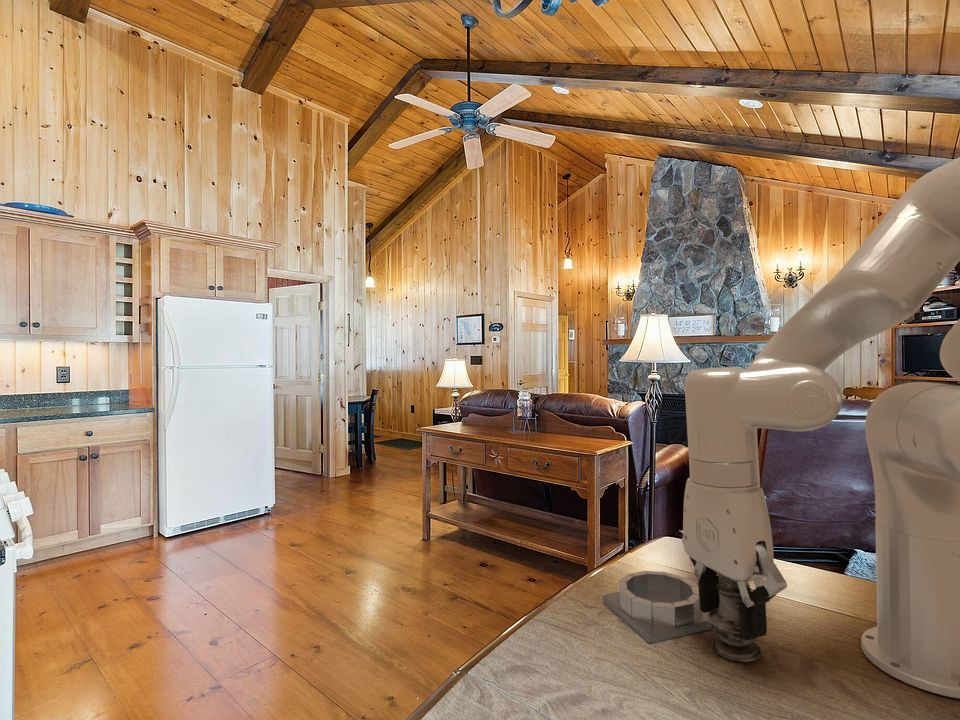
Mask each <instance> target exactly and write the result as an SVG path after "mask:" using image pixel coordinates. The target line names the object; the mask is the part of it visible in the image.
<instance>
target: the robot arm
mask: <svg viewBox="0 0 960 720" xmlns="http://www.w3.org/2000/svg"><path fill="white" fill-rule="evenodd" d="M959 262H960V156H958V157H956V158H954V159H953V160H951V161H948V162H947V163H945V164H942V165H941V166H938V167H936V168H935V169H932V170H931V171H928V172H927V173H925V174H924V175H922V176H920V178H919V179H917V180H916V181H915V182H913V183H912V184H911V186H909V187H908V188H907V189H906V191H905V192H903V194H902V195H901V196H900V197H899V198H898V200H897V201H896V202H895V203H894V204H893V206H892V207H891V208H890V209H889V211H888V212H887V213H886V214H885V215H884V217H883V218H882V219H881V220H880V222H879V223H878V224H877V226H876V227H875V228H874V229H873V230H872V232H871V233H870V234H869V235H868V236H867V238H865V240H864V241H863V242H862V244H861V245H860V246H859V248H857V249H856V251H855V252H854V253H853V254H852V256H851V257H850V258H849V260H847V262H846V263H845V264H844V265H843V267H842V268H841V269H840V270H839V271H838V272H837V273H836V275H834V277H833V278H831V280H829V281H828V282H827V283H826V284H825V285H824V286H823V287H822V288H819V290H818V291H817V292H816V293H815V294H814V295H813V296H812V297H811V298H809V300H808V301H807V302H806V303H805V304H804V305H803V306H802V307H801V308H799V310H797V311H796V312H795V313H794V314H793V315H792V316H791V317H790V318H789V319H788V320H787V321H786V322H785V323H784V324H783V325H782V326H781V327H780V328H779V329H778V330H777V331H776V332H775V333H774V334H773V335H772V337H771V338H770V339H769V340H768V341H767V343H766V344H765V345H764V346H763V348H762V349H761V350H760V352H759V353H758V354H757V355H756V357H754V359H753V360H752V361H751V362H750V364H749V365H748V367H747V368H746V369H745V368H743V367H742V368H741V367H710V368H709V367H708V368H699V369H695V370H692V371H689V372H688V373H687V375H686V377H685V381H684V395H685V397H684V400H685V412H686V428H687V429H686V430H687V431H686V432H687V434H686V435H687V446H688V447H687V448H688V449H687V450H688V462H689V463H688V464H689V465H688V467H689V477H688V478H687V480H686V482H685V489H684V496H683V497H684V498H683V508H682V509H683V512H682V513H683V514H682V515H683V518H682V529H683V530H682V537H681V541H682V544H683V548H684V551H685V553H686V555H688V557H689V559H690V561H691V563H692V564H693V567H694V571H693V573H694V576H695V577H696V578H697V579H698V580H697V581H698V582H697V585H698V587H699V604H700V610H701V611H702V612H704V613H707V612H710V611H711V610H712V609H715V608H718V607H719V603H720V601H719V591H718V590H717V588H716V584H717V583H719V573H720V574H721V575H723V576H725V577H727V578H729V579H731V580H734V581H737V583H738V586H739V590H740V593H741V596H742V599H743V603H739V619H740V635H741V637H742V638H743V639H745V640H750V639H753V638H757V639H758V638H760V637H764V636H766V635H767V632H768V627H767V625H768V623H767V606H766V605H767V603H770V602H771V600H772V599H773V598H775V596H776V595H778V594H779V593H780V592H782V591H784V590H785V589H787V588H788V583H787V580H786V579H785V578H784V576H783V574H782V573H781V571H780V570H779V568H778V567H777V565H776V563H775V562H774V545H773V544H774V543H773V536H772V535H773V534H772V526H771V519H770V515H769V510H768V505H767V501H766V498H765V494H764V490H763V488H762V487H761V482H760V481H761V478H760V463H759V444H758V429H771V430H778V431H788V432H789V431H790V432H810V431H814V430H818V429H820V428H823V427H826V426H827V425H828V424H829V423H831V422H833V421H834V419H836V417H838V415H839V414H840V411H841V409H842V407H843V401H844V399H843V393H842V388H841V387H840V385H839V383H838V381H837V380H836V379H835V378H834V377H833V376H832V375H831V374H829V373H828V372H827V371H826V369H828V367H829V366H831V364H833V363H834V361H836V360H837V359H838V358H839V357H840V356H842V355H843V354H845V353H846V352H847V351H848V350H850V349H852V348H853V347H855V346H856V345H858V344H861V343H862V342H864V341H866V340H867V339H871V338H872V337H875V336H877V335H880V334H882V333H884V332H886V331H889V330H891V329H892V328H894V327H895V326H898V325H899V324H901V323H903V322H904V321H906V320H908V319H909V318H911V317H912V316H913V315H914V314H916V312H918V310H919V309H921V307H922V306H923V305H924V303H926V301H927V300H928V299H929V297H930V296H931V295H932V294H933V293H934V292H935V290H936V289H937V288H938V286H939V285H940V284H941V283H942V282H943V280H945V278H947V276H948V275H949V274H950V273H951V271H952V270H953V269H954V268H955V267H956V266H957V264H959ZM939 360H940V362H941V363H940V364H941V365H942V367H943V368H944V369H945V371H946V372H947V373H948V375H950V376H951V377H952V378H954V379H955V380H957V381H959V382H960V318H959V319H958V320H957V321H956V322H955V323H954V325H952V327H951V328H950V330H949V331H948V332H947V334H946V335H945V336H944V338H943V339H942V343H941V345H940V350H939ZM864 424H865V425H864V427H865V429H864V430H865V438H866V445H867V449H868V454H869V459H870V464H871V469H872V475H873V476H872V477H873V485H874V502H875V503H874V504H875V524H874V525H875V565H876V566H875V569H876V570H875V572H876V578H875V579H876V617H877V618H876V621H877V623H876V624H877V625H876V626H874V627H872V628H868V629H867V630H865V631H864V632H863V633H862V635H861V637H860V638H861V639H860V643H861V650H862V652H863V653H864V656H865V657H866V658H867V659H868V660H869V661H870V662H871V663H872V664H873V665H875V666H876V667H877V668H879V669H880V670H881V671H883V672H885V673H886V674H888V675H890V676H891V677H893V678H895V679H897V680H899V681H901V682H903V683H905V684H908V685H910V686H912V687H916V688H918V689H921V690H924V691H926V692H930V693H933V694H936V695H939V696H943V697H949V698H953V699H958V700H959V699H960V385H958V384H949V383H940V382H928V381H915V382H906V383H901V384H897V385H894V386H891V387H889V388H887V389H886V390H884V391H883V392H881V393H879V395H878V396H876V398H875V399H874V400H873V401H872V403H871V404H870V406H869V408H868V411H867V412H866V417H865V423H864ZM751 581H753V584H754V587H755V589H753V590H752V589H751V586H750V583H749V582H751Z"/></svg>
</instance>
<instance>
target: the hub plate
mask: <svg viewBox="0 0 960 720" xmlns="http://www.w3.org/2000/svg"><path fill="white" fill-rule="evenodd" d="M602 604H604V605H605V607H607V609H609V610H610V611H612V612H613V614H615V615H616V616H617V617H618V618H620V620H622V621H623V622H624V623H625V624H626V625H627V626H628V627H630V628H631V629H632V630H633V631H634V632H635V633H637V634H638V636H640V638H642V639H643V640H644V641H646V643H648V644H654V643H657V642H661V641H666V640H670V639H675V638H679V637H684V636H688V635H692V634H697V633H701V632H706V631H711V630H713V629H712V627H711V623H710V621H709V620H708V613H709V612H707V613H704V612H702V611H701V610H700V604H699V586H698V584H696V583H695V582H694V581H691V580H690V579H688V578H687V577H685V576H681V575H678V574H674V573H670V572H666V571H655V570H653V571H652V570H643V571H636V572H632V573H627V574H626V575H624V576H623V577H622V578H620V579H619V580H618V591H616V592H611V593H606V594H602Z"/></svg>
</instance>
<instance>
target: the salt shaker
mask: <svg viewBox="0 0 960 720" xmlns="http://www.w3.org/2000/svg"><path fill="white" fill-rule="evenodd" d="M718 575H719V583H717V584H716V588H717V590H718V591H719V601H720V603H719V607H718V608H715V609H712V610H711V611H710V612H709V613H708V620H709V621H710V623H711V627H712V629H711V630H713V633H714V634H715V636H716V637H714V638H713V640H712V641H711V646H712V649H713V651H714V652H715V653H716V654H717V655H719V656H720V657H722V658H725V659H727V660H729V661H734V662H741V663H750V662H753V661H757V660H758V659H759V658H760V657H761V655H762V651H761V648H760V646H759V645H758V644H757V643H756V641H757V639H758V637H757V638H753V639H750V640H745V639H743V638H742V637H741V635H740V619H739V603H743V599H742V596H741V593H740V590H739V586H738V583H737V581H734V580H731V579H729V578H727V577H725V576H723V575H721V574H720V573H718Z"/></svg>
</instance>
